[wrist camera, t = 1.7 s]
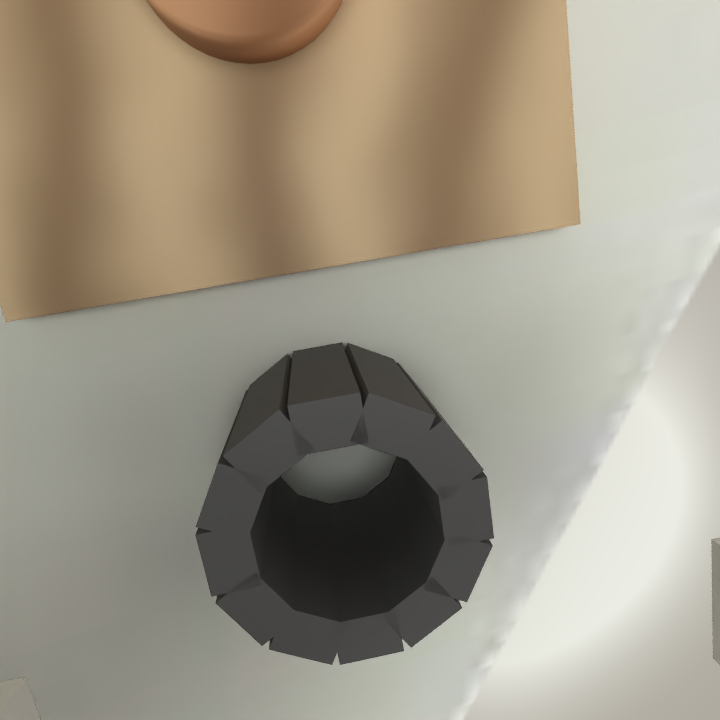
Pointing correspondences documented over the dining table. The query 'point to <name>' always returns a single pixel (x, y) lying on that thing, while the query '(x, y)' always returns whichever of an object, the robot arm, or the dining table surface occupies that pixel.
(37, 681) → the dining table surface
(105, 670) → the dining table surface
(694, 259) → the dining table surface
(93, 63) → the post stand
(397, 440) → the rubber collar
